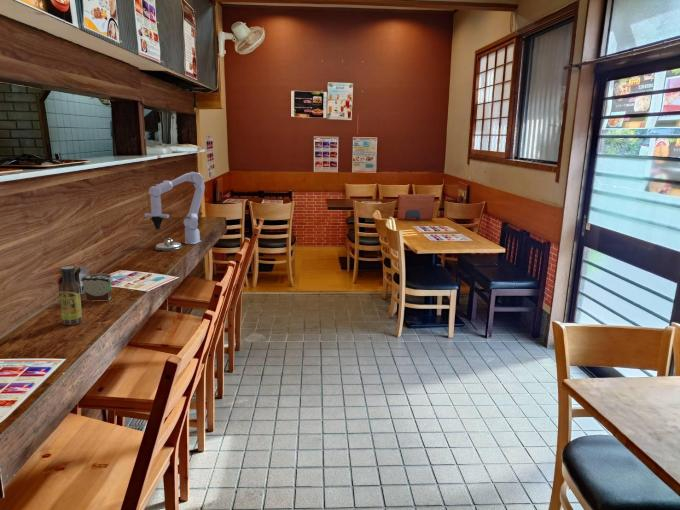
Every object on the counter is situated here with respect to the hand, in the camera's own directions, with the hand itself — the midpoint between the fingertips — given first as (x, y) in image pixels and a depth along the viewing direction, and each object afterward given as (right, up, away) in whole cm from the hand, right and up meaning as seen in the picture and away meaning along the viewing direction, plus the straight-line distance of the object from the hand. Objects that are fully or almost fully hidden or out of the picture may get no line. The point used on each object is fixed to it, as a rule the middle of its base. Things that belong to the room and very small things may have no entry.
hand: (157, 229), depth 286 cm
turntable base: (+8, -11, -3) cm, 14 cm away
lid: (+8, -9, -4) cm, 13 cm away
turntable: (+8, -10, -3) cm, 13 cm away
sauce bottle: (+16, -39, -120) cm, 128 cm away
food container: (+14, -33, -95) cm, 102 cm away
